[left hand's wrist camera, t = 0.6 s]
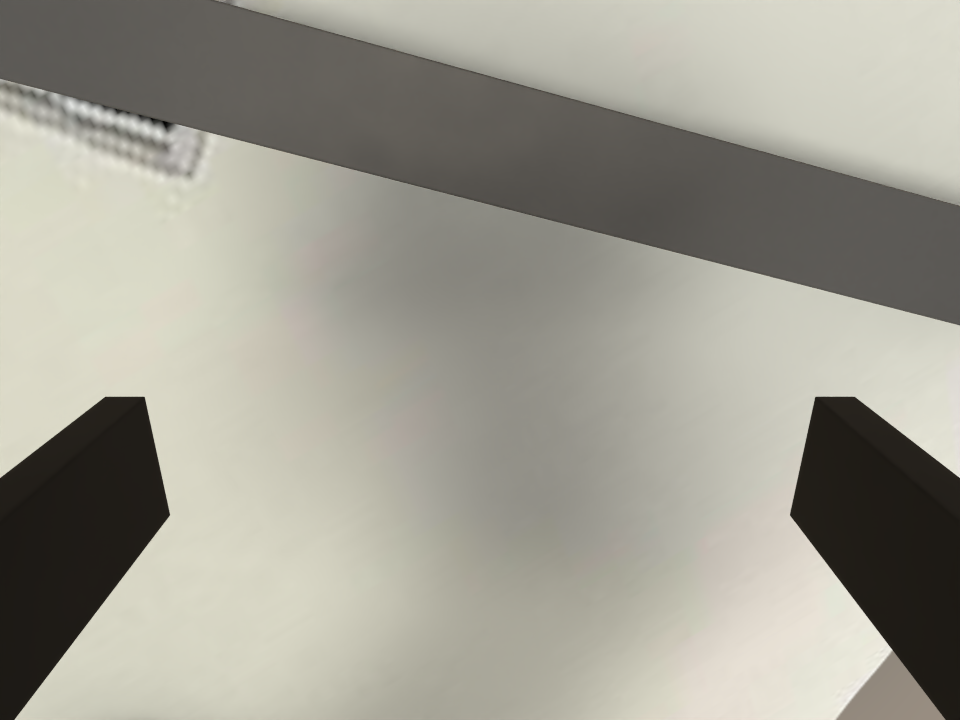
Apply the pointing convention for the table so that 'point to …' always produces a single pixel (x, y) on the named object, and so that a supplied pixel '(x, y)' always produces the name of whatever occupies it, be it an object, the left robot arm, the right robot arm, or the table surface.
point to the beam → (489, 143)
